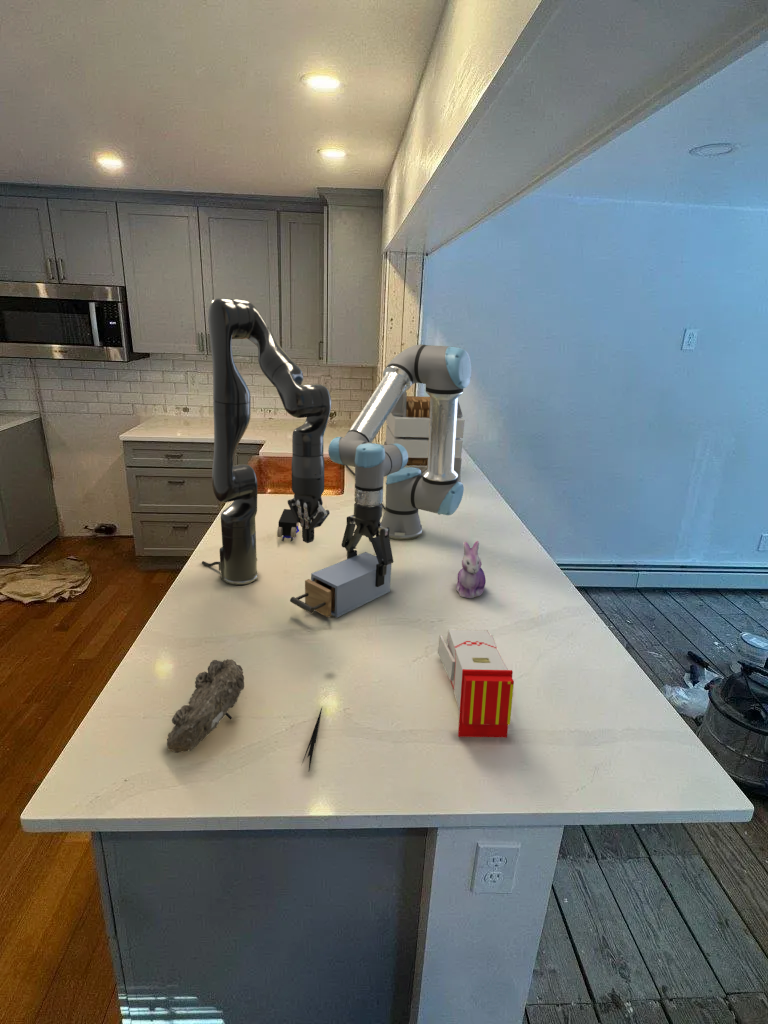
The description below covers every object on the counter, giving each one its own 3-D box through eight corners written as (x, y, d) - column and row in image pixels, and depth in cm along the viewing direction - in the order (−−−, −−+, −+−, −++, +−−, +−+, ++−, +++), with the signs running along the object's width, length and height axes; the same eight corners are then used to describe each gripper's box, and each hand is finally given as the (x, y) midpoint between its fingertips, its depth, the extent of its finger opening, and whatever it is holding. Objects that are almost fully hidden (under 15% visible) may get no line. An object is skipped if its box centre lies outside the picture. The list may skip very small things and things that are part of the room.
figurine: (467, 602, 155) (472, 552, 149) (446, 586, 163) (450, 538, 158) (494, 596, 159) (500, 546, 154) (473, 580, 167) (478, 533, 162)
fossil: (192, 660, 117) (244, 628, 112) (224, 691, 120) (276, 661, 115) (142, 746, 98) (202, 712, 93) (182, 779, 101) (242, 748, 96)
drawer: (311, 625, 139) (311, 599, 136) (288, 612, 144) (288, 587, 142) (379, 592, 156) (380, 568, 154) (357, 581, 162) (357, 559, 159)
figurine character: (296, 548, 187) (302, 526, 201) (296, 527, 184) (301, 507, 198) (276, 547, 187) (283, 526, 201) (275, 527, 184) (282, 507, 197)
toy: (488, 613, 130) (523, 677, 101) (484, 667, 133) (517, 744, 104) (435, 612, 130) (455, 676, 101) (432, 666, 133) (451, 743, 103)
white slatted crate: (382, 463, 289) (386, 382, 275) (445, 464, 293) (451, 384, 279) (390, 482, 257) (394, 392, 243) (460, 483, 261) (468, 394, 247)
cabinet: (336, 617, 144) (337, 586, 141) (311, 603, 151) (311, 573, 147) (390, 591, 159) (391, 562, 156) (364, 579, 165) (365, 551, 162)
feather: (331, 679, 122) (336, 673, 122) (307, 777, 96) (313, 769, 95) (324, 675, 122) (329, 669, 121) (298, 772, 95) (304, 764, 95)
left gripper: (277, 469, 132) (278, 537, 138) (314, 481, 124) (314, 554, 130) (301, 463, 138) (302, 530, 143) (339, 475, 129) (338, 545, 135)
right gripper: (328, 495, 154) (328, 569, 162) (390, 517, 140) (386, 597, 148) (348, 490, 159) (347, 562, 167) (410, 510, 145) (405, 588, 153)
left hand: (308, 541), depth 137 cm, fingers closed
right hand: (365, 578), depth 157 cm, fingers closed on cabinet, 10 cm apart
